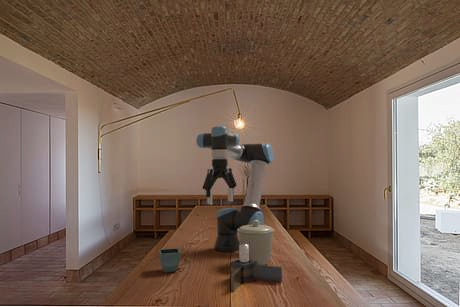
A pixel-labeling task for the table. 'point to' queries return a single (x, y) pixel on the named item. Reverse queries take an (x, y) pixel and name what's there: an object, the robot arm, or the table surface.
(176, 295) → the table surface
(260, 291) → the table surface
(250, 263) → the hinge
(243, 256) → the hinge pin
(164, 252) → the flower pot
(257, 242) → the canister
